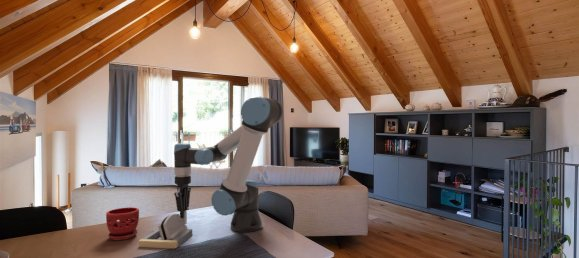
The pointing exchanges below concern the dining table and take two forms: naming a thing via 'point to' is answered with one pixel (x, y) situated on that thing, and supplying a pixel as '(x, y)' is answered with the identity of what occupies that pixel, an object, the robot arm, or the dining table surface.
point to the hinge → (171, 227)
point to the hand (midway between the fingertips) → (183, 224)
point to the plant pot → (122, 223)
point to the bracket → (150, 241)
